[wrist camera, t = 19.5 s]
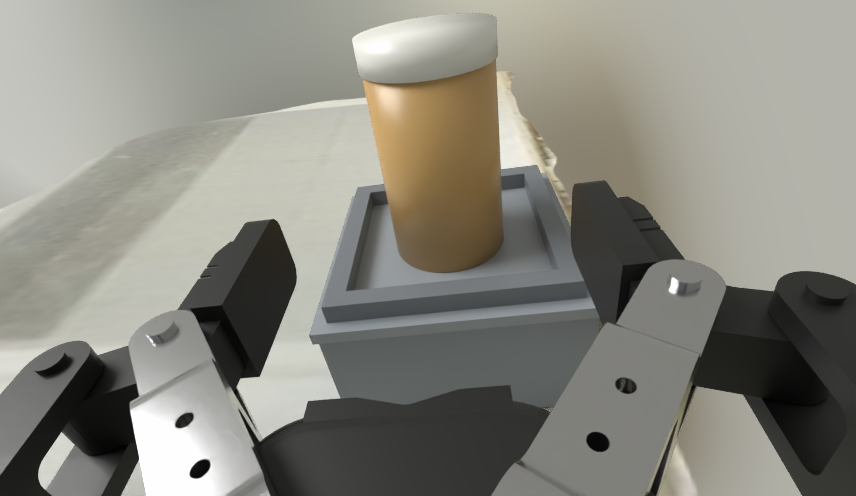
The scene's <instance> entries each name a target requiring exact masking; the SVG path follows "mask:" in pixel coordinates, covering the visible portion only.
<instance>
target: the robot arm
mask: <svg viewBox="0 0 856 496" xmlns="http://www.w3.org/2000/svg"><path fill="white" fill-rule="evenodd" d="M571 246H572V252H573V255H574V258H575V261H576V263H577V265H578V268H579V270H580V272H581V275H582V277H583V279H584V282H585V284H586V287H587V289H588V291H589V294H590V296H591V298H592V301H593V303H594V305H595V308H596V310H597V312H598V315H599V317H600V319H601V322H602V324H603V328H602V329H601V331H600V332H599V334H598V336H597V337H596V339H595V341H594V342H593V344H592V346H591V347H590V349H589V350H588V352H587V354H586V355H585V357H584V359H583V360H582V362H581V364H580V365H579V367H578V369H577V370H576V372H575V373H574V375H573V377H572V378H571V380H570V382H569V383H568V385H567V387H566V388H565V390H564V392H563V393H562V395H561V396H560V398H559V400H558V401H557V403H556V405H555V406H554V408H553V410H552V411H551V412H549V411H547V410H545V409H542V408H539V407H537V406H534V405H530V404H526V403H523V402H517V401H513V399H512V393H511V387H510V385H503V386H490V387H478V388H466V389H457V390H454V391H451V392H448V393H444V394H441V395H438V396H435V397H431V398H428V399H425V400H422V401H418V402H415V403H412V404H406V405H403V404H396V403H389V402H383V401H376V400H370V399H364V398H357V397H354V398H342V399H329V400H317V401H308V403H307V407H306V411H305V414H304V418H303V419H300V420H297V421H295V422H292V423H290V424H287V425H285V426H284V427H282V428H280V429H278V430H276V431H274V432H273V433H271V434H270V435H268V436H267V437H265V438H264V439H262V437H261V434H260V432H259V430H258V428H257V426H256V424H255V422H254V420H253V418H252V416H251V414H250V412H249V410H248V408H247V406H246V403H245V401H244V399H243V397H242V395H241V393H240V392H239V390H238V388H237V385H238V382H239V380H240V378H250V377H260V375H261V372H262V369H263V367H264V364H265V362H266V359H267V357H268V354H269V352H270V349H271V347H272V344H273V342H274V339H275V336H276V334H277V331H278V329H279V326H280V324H281V321H282V319H283V316H284V314H285V311H286V309H287V306H288V303H289V301H290V298H291V296H292V293H293V291H294V288H295V285H296V279H297V275H296V267H295V264H294V261H293V259H292V256H291V253H290V251H289V248H288V246H287V243H286V240H285V238H284V235H283V233H282V230H281V227H280V225H279V223H278V222H277V221H276V220H274V219H270V220H262V221H253V222H247V223H245V224H244V226H243V227H242V229H241V230H240V232H239V233H238V235H237V237H236V238H235V240H234V241H233V242H229V243H228V244H227V245H226V246H225V247H223V248H222V249H221V250H220V251H218V252H217V253H216V254H215V255H214V257H213V258H212V260H211V261H210V263H209V264H208V266H207V267H208V268H207V269H205V270H204V272H203V273H202V274H201V276H200V277H201V278H200V279H198V280H197V282H196V283H195V285H194V286H193V288H192V289H191V291H190V292H189V294H188V295H187V297H186V298H185V299H184V301H183V302H182V304H181V305H180V307H179V308H178V310H175V311H170V312H167V313H164V314H161V315H159V316H157V317H155V318H153V319H151V320H150V321H148V322H146V323H145V324H144V325H142V326H141V327H140V328H139V329H138V330H137V331H136V332H135V333H134V334H133V336H132V337H131V339H130V341H129V346H126V347H123V348H119V349H116V350H113V351H110V352H107V353H104V354H101V355H97V354H96V353H95V352H94V351H93V349H92V348H91V347H90V346H89V344H88V343H86V342H83V341H72V342H67V343H64V344H61V345H58V346H56V347H53V348H51V349H49V350H47V351H46V352H44V353H42V354H41V355H39V356H37V357H36V358H35V359H33V360H32V361H31V362H30V363H28V364H27V365H26V366H25V367H24V368H23V369H22V370H21V371H20V373H19V374H18V375H17V376H16V377H15V378H14V379H13V381H12V382H11V383H10V384H9V385H8V386H7V387H6V389H5V390H4V391H3V392H2V393H1V394H0V496H121V494H122V492H123V490H124V488H125V486H126V484H127V482H128V480H129V478H130V476H131V474H132V472H133V470H134V468H135V466H136V464H137V462H138V460H139V458H140V463H141V468H142V473H143V479H144V484H145V489H146V494H147V496H658V495H659V493H660V490H661V487H662V484H663V481H664V478H665V475H666V472H667V469H668V466H669V463H670V460H671V457H672V454H673V451H674V448H675V445H676V443H677V440H678V437H679V434H680V431H681V429H682V426H683V423H684V420H685V418H686V415H687V412H688V409H689V407H690V404H691V401H692V399H693V396H694V393H695V390H696V388H697V386H699V387H704V388H709V389H715V390H721V391H726V392H732V393H737V394H743V395H744V397H745V398H746V400H747V402H748V404H749V405H750V407H751V409H752V410H753V412H754V414H755V415H756V417H757V419H758V421H759V422H760V424H761V426H762V428H763V429H764V431H765V433H766V434H767V436H768V438H769V440H770V441H771V443H772V445H773V446H774V448H775V450H776V452H777V453H778V455H779V457H780V458H781V460H782V462H783V463H784V465H785V467H786V469H787V470H788V472H789V473H790V475H791V477H792V479H793V481H794V482H795V484H796V486H797V487H798V489H799V491H800V492H801V494H802V496H856V285H855V284H854V283H852V282H849V281H847V280H845V279H843V278H840V277H837V276H834V275H829V274H825V273H820V272H810V271H800V272H793V273H789V274H787V275H784V276H783V277H781V278H780V279H779V280H778V282H777V285H776V287H775V290H774V291H765V290H755V289H746V288H737V287H731V286H726V285H725V282H724V280H723V278H722V277H721V276H720V275H719V274H718V273H717V272H716V271H714V270H712V269H711V268H709V267H707V266H705V265H702V264H700V263H696V262H693V261H688V260H685V259H684V258H683V256H682V255H681V254H680V252H679V251H678V250H677V249H676V247H675V246H674V245H673V243H672V242H671V240H670V239H669V238H668V237H667V235H666V234H665V233H664V231H663V230H661V229H660V226H659V225H658V223H657V222H656V221H655V220H653V217H652V216H651V214H650V213H649V212H648V210H647V209H646V208H645V207H644V205H642V204H640V203H638V202H636V201H635V200H633V199H631V198H629V197H620V198H617V197H616V195H615V194H614V192H613V191H612V189H611V188H610V186H609V185H608V183H607V182H606V181H605V180H604V181H594V182H586V183H578V184H575V185H574V187H573V192H572V214H571ZM61 432H62V433H63V434H64V435H65V436H66V437H67V438H68V439H69V440H70V441H71V442H73V443H74V444H75V446H74V447H73V449H72V450H71V452H70V453H69V455H68V457H67V458H66V460H65V461H64V463H63V464H62V466H61V467H60V469H59V471H58V472H57V474H56V475H55V477H54V478H53V480H52V481H51V483H50V485H49V486H48V488H47V489H46V490H45V489H44V488H43V487H42V486H41V485H40V483H39V480H38V470H39V466H40V464H41V461H42V460H43V458H44V456H45V455H46V454H47V452H48V451H49V449H50V448H51V446H52V445H53V443H54V442H55V440H56V439H57V438H58V436H59V435H60V433H61Z"/></svg>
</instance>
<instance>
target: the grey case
mask: <svg viewBox="0 0 856 496" xmlns="http://www.w3.org/2000/svg"><path fill="white" fill-rule="evenodd" d="M501 188H502V210H503V233H504V240H503V244H502V247H501V248H500V250H499V251H498V252H497V253H496V255H495V256H493V257H492V258H491V259H489V260H488V261H486V262H485V263H483V264H481V265H479V266H476V267H473V268H470V269H467V270H463V271H458V272H448V273H437V272H428V271H424V270H420V269H417V268H415V267H413V266H411V265H409V264H408V263H406V262H405V261H404V260H403V259H402V258H401V256H400V255H399V252H398V248H397V243H396V238H395V233H394V228H393V224H392V219H391V214H390V209H389V204H388V200H387V195H386V190H385V185H384V184H381V185H373V186H365V187H358V188H357V191H356V194H355V196H354V197H352V200H351V203H350V207H349V210H348V213H347V216H346V219H345V222H344V226H343V229H342V232H341V235H340V238H339V242H338V245H337V248H336V251H335V254H334V258H333V261H332V264H331V267H330V270H329V274H328V277H327V280H326V283H325V286H324V290H323V293H322V296H321V299H320V302H319V305H318V309H317V312H316V315H315V318H314V321H313V325H312V328H311V331H310V334H309V336H310V339H311V341H312V344H319V345H320V348H321V350H322V353H323V355H324V358H325V360H326V363H327V365H328V368H329V370H330V373H331V375H332V378H333V380H334V383H335V385H336V388H337V390H338V393H339V395H340V398H341V399H342V398H354V397H357V398H364V399H370V400H376V401H383V402H389V403H396V404H403V405H406V404H412V403H415V402H418V401H422V400H425V399H428V398H431V397H435V396H438V395H441V394H444V393H448V392H451V391H454V390H457V389H466V388H478V387H490V386H503V385H510V387H511V393H512V399H513V401H517V402H523V403H526V404H530V405H534V406H537V407H539V408H543V407H554V406H555V405H556V403H557V401H558V400H559V398H560V396H561V395H562V393H563V392H564V390H565V388H566V387H567V385H568V383H569V382H570V380H571V378H572V377H573V375H574V373H575V372H576V370H577V369H578V367H579V365H580V364H581V362H582V360H583V359H584V357H585V355H586V354H587V352H588V350H589V349H590V347H591V346H592V344H593V342H594V341H595V339H596V337H597V336H598V333H599V323H600V317H599V315H598V312H597V310H596V308H595V305H594V303H593V301H592V298H591V296H590V294H589V291H588V289H587V287H586V284H585V282H584V279H583V277H582V275H581V272H580V270H579V268H578V265H577V263H576V261H575V258H574V255H573V252H572V246H571V227H570V224H569V222H568V220H567V218H566V216H565V214H564V211H563V209H562V207H561V205H560V203H559V200H558V198H557V196H556V194H555V192H554V190H553V187H552V185H551V183H550V181H549V179H548V176H547V174H546V173H540V170H539V168H538V166H537V165H533V166H525V167H517V168H509V169H501Z"/></svg>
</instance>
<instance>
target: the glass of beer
mask: <svg viewBox="0 0 856 496" xmlns="http://www.w3.org/2000/svg"><path fill="white" fill-rule="evenodd" d="M352 42H353V47H354V52H355V56H356V61H357V66H358V71H359V75H360V77H361V78H362V79H363V84H364V88H365V93H366V98H367V103H368V108H369V113H370V117H371V122H372V127H373V132H374V137H375V142H376V146H377V151H378V156H379V161H380V166H381V171H382V175H383V180H384V185H385V190H386V195H387V200H388V204H389V209H390V214H391V219H392V224H393V228H394V233H395V238H396V243H397V248H398V252H399V255H400V256H401V258H402V259H403V260H404V261H405V262H406V263H408V264H409V265H411V266H413V267H415V268H417V269H420V270H424V271H428V272H437V273H448V272H458V271H463V270H467V269H470V268H473V267H476V266H479V265H481V264H483V263H485V262H486V261H488V260H489V259H491V258H492V257H493V256H495V255H496V253H497V252H498V251H499V250H500V248H501V247H502V244H503V240H504V233H503V210H502V188H501V165H500V143H499V120H498V98H497V75H496V58H497V56H498V46H497V20H496V17H494V16H493V15H489V14H481V13H457V14H444V15H435V16H427V17H421V18H414V19H408V20H404V21H399V22H394V23H390V24H386V25H382V26H379V27H375V28H372V29H369V30H366V31H364V32H361V33H359V34H358V35H356V36H355V37H353V39H352Z"/></svg>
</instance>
